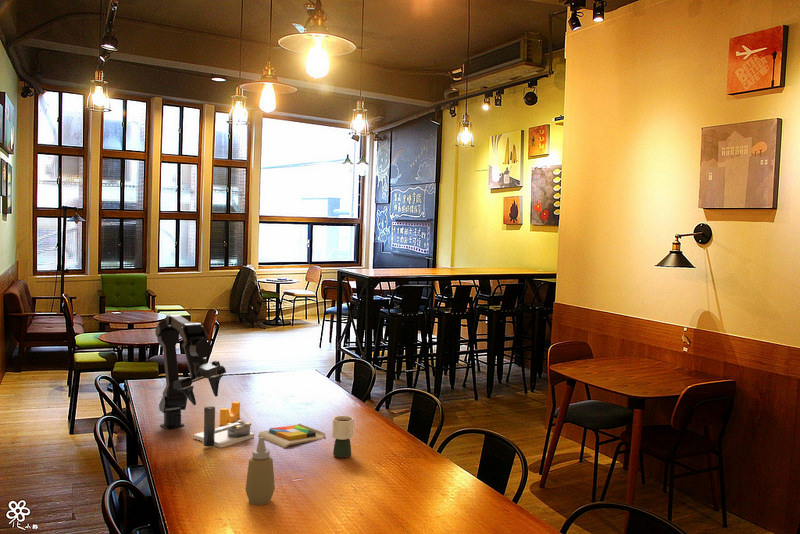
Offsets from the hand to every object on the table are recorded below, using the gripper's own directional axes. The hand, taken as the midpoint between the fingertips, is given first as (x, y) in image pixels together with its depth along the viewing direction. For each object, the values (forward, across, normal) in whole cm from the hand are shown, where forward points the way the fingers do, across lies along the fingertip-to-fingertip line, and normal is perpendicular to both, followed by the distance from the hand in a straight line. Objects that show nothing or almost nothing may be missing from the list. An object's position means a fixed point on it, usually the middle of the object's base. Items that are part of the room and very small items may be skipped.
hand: (205, 400), depth 221 cm
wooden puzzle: (+23, +21, -15) cm, 34 cm away
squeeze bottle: (+24, -23, -48) cm, 59 cm away
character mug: (+28, +18, -41) cm, 53 cm away
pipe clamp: (+14, +18, +17) cm, 29 cm away
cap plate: (+16, +4, +2) cm, 16 cm away
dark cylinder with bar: (+15, +2, -3) cm, 16 cm away
